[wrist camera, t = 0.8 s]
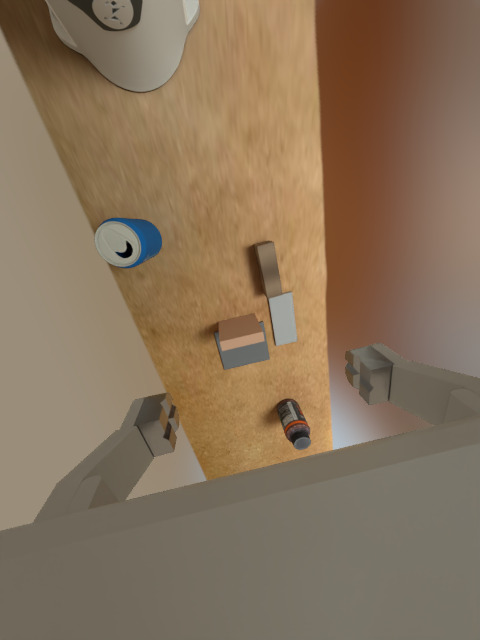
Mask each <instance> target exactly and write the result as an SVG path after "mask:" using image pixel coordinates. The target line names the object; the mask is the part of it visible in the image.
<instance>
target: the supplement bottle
mask: <svg viewBox="0 0 480 640" xmlns="http://www.w3.org/2000/svg"><path fill="white" fill-rule="evenodd" d="M277 411H278V415H279V418H280V421H281V424H282V427H283V430H284V433H285V435H286V437H287V439H288V440H289V441H290V442H292V443H293V445H294V447H295V448H296V449H298V450H303V449H306V448H307V447H309V446H310V444H311V440H310V438H309V435H310V428H309V426H308V424H307V422H306V419H305V418H304V415H303V413H302V411H301V409H300V407H299V405H298V403H297V402H296V401H295V400H292V399H286V400H283V401H282V402H281V403H279V405H278V407H277Z"/></svg>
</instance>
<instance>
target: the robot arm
mask: <svg viewBox="0 0 480 640" xmlns="http://www.w3.org/2000/svg"><path fill="white" fill-rule="evenodd" d="M45 1H46V3H47V4H48V8H49V12H50V17H51V21H52V25H53V28H54V30H55V32H56V34H57V35H58V37H59V38H60V40H61V41H62V42H63V43H64V44H65V45H67V46H68V47H70V48H71V49H73V50H75V51H77V52H78V53H80V54H82V55H84V56H85V57H86V58H87V59H88V60H89V61H90V62H91V63H92V64H93V65H94V66H95V67H96V68H97V70H98V71H99V72H100V73H101V74H102V75H104V76H105V77H106V78H107V79H109V80H110V81H111V82H113V83H114V84H116V85H118V86H120V87H122V88H124V89H127V90H131V91H137V92H145V91H150V90H154V89H156V88H158V87H160V86H162V85H163V84H164V83H166V82H167V81H168V80H169V79H170V78H171V76H172V75H173V74H174V72H175V70H176V69H177V67H178V65H179V62H180V60H181V57H182V53H183V49H184V44H185V40H186V37H187V34H188V32H189V31H190V30H191V28H192V27H193V25H194V24H195V22H196V20H197V18H198V16H199V12H200V6H199V0H45ZM345 359H346V360H347V361H348V364H347V365H346V367H345V373H346V376H347V379H348V381H349V383H350V384H351V385H352V386H353V387H354V388H357V389H359V394H360V395H361V397H363V399H364V400H365V401H366V402H367V403H368V404H369V405H373V404H377V403H382V402H387V401H389V402H390V403H392V404H394V405H396V406H398V407H400V408H402V409H404V410H406V411H408V412H410V413H412V414H413V415H415V416H417V417H419V418H421V419H423V420H425V421H427V422H429V423H431V424H433V425H435V426H431V427H427V428H423V429H419V430H414V431H410V432H406V433H402V434H398V435H394V436H390V437H385V438H381V439H377V440H373V441H369V442H365V443H361V444H356V445H353V446H348V447H344V448H340V449H336V450H332V451H328V452H323V453H319V454H315V455H311V456H307V457H303V458H299V459H295V460H290V461H286V462H282V463H278V464H274V465H270V466H266V467H262V468H257V469H253V470H249V471H245V472H241V473H237V474H233V475H229V476H224V477H220V478H216V479H212V480H208V481H204V482H200V483H196V484H192V485H188V486H184V487H179V488H175V489H171V490H167V491H163V492H158V493H154V494H150V495H146V496H142V497H138V498H134V499H130V500H126V498H127V497H128V495H129V494H130V492H131V491H132V489H133V487H134V486H135V485H136V484H137V482H138V481H139V479H140V478H141V476H142V475H143V473H144V472H145V471H146V469H147V468H148V466H149V465H150V463H151V462H152V460H153V459H154V457H156V456H160V455H164V454H167V453H171V452H174V449H175V444H176V438H177V437H176V435H175V432H176V431H177V429H178V427H179V414H178V410H177V407H176V406H174V405H173V404H172V401H173V398H172V396H171V394H170V393H169V392H167V393H163V394H158V395H153V396H148V397H144V398H139V399H135V400H134V401H133V402H132V404H131V407H130V409H129V411H128V413H127V415H126V417H125V419H124V421H123V423H122V426H121V428H120V430H116V431H115V432H114V433H113V434H112V435H110V436H109V437H108V438H107V439H106V440H105V441H104V442H103V443H102V444H101V445H99V446H98V447H97V448H96V449H95V450H94V451H93V452H92V453H90V455H88V456H87V457H86V458H85V459H84V460H83V461H82V462H81V463H79V464H78V465H77V466H76V467H75V468H74V469H73V470H72V471H70V472H69V473H68V475H66V476H65V477H64V478H63V479H62V480H61V481H59V482H58V483H57V484H56V486H55V488H54V489H53V491H52V493H51V494H50V496H49V497H48V499H47V501H46V502H45V504H44V506H43V507H42V509H41V510H40V512H39V513H38V515H37V517H36V519H35V520H34V522H33V523H31V524H27V525H22V526H18V527H14V528H10V529H6V530H2V531H0V640H480V378H477V377H473V376H469V375H465V374H461V373H457V372H453V371H450V370H446V369H442V368H437V367H434V366H429V365H426V364H422V363H418V362H414V361H410V362H408V361H407V360H405V359H404V358H402V357H401V356H399V355H398V354H396V353H395V352H393V351H392V350H391V349H389V348H388V347H386V346H385V345H383V344H381V343H376V344H372V345H369V346H367V347H362V348H358V349H353V350H349V351H346V354H345Z"/></svg>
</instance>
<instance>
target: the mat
mask: <svg viewBox="0 0 480 640" xmlns="http://www.w3.org/2000/svg"><path fill="white" fill-rule="evenodd" d="M259 324H260V326H261V328H262V330H263V334H264V340H265V341H263V342H259V343H255V344H250V345H246V346H242V347H238V348H234V349H229V350H225V351H222V349H221V345H220V340H219V332H214V334H215V338H216V341H217V345H218V348H219V352H220V355H221V359H222V362H223V366H224V369H225V370H226V369H230V368H235V367H239V366H243V365H247V364H251V363H256V362H260V361H264V360H268V359H270V358H269V352H268V346H267V341H266V335H265V329H264V324H263V321H261V322H259Z"/></svg>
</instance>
